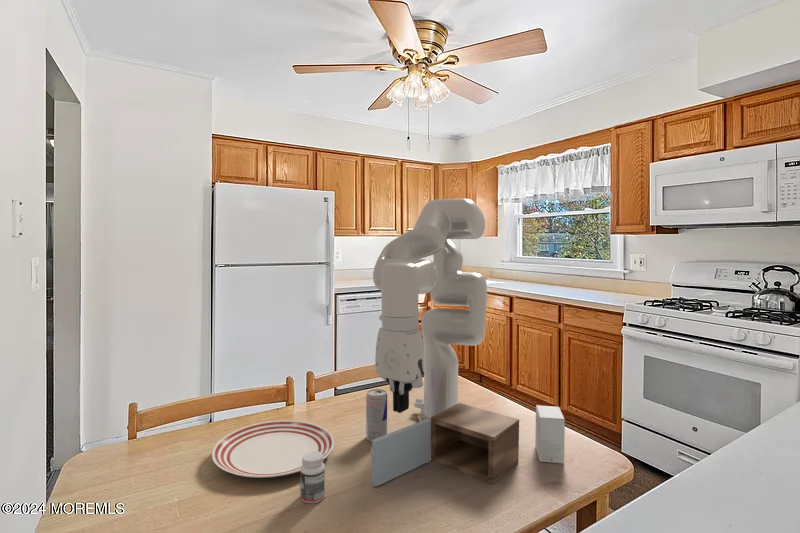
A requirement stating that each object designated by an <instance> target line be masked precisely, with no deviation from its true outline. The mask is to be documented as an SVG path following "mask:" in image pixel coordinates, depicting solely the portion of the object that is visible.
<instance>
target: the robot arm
mask: <svg viewBox="0 0 800 533" xmlns="http://www.w3.org/2000/svg"><path fill="white" fill-rule="evenodd" d="M485 229H486V219H485V215H484V213H483V211H482V210H481V208H480V207H479V206H478V205H477V203H476V202H475V201H473V200H471V199H469V198H445V199H444V198H442V199H441V198H440V199H439V198H437V199H432V200H430V201H428V202H427V203H426V204H424V206H423V208H422V210H421V212H420V214H419V216H418V217H417V220H416V222H415V224H414V226H413V228H412V229H410V230H409V231H407V232H404V233H403V234H401V235H399V236H398V237H396V238H394V239H393V240H391V241H390V242H388V243H387V244H386V245H385V246H384V247H383V249H382V250H381V252H380V254H379V256H378V257H377V260H376V262H375V264H374V267H373V272H372V279H373V284H374V286H375V287H376V289H377V290H379V291H380V292H381V298H380V300H381V314H380V315H379V320H380V321H381V327H380V328H379V329H378V333H377V338H376V345H375V359H374V361H375V362H374V366H375V368H374V369H375V373H376V374H377V375H378V376H379V377H380V378H381V379H383V380H384V381H386V382H387V384H388V385H389V391H391V392H392V410H393V412H395V413H396V412H397V413H398V414H402V413H403V412H405V411H407V410H409V407H410V392H411V391H412V389H419V388H422V387H423V398H420V397H417V398H416V399H415V402H414V404H413V406H414V408H417V409H420V412H419V413H418V417H417V418H418V422H420V421H423V420H425V419H428V420H430V421H431V417H433V416H434V415H436V414H438V413H440V412H442V411H444V410H446V409H448V408H450V407H452V406H454V405H456V404H458V403H459V357H458V354H457V353H456V350H454V348H453V347H452V345H458V346H473V347H474V346H478V345H480V344H482V343H483V340H484V337H485V333H486V332H485V330H486V317H487V301H488V285H487V281H486V278H485V276H484V275H482V274H481V273H478V272H471V271H470V272H469V271H468V272H465V271H463V262H464V257H463V254H462V252H461V251H460V249H459V248H458V247H457V245H455V243H453V241H452V240H477V239H480V238H481V237H483V235H484V232H485ZM430 256H432V257H433V261H431V260H429V259H425V258H427V257H430ZM429 293H430V298H431V301H432V302H433V303H435V304H438V305H444V306H456V307H457V306H458V307H468V309H454V308H432V309H428V310H426V311H425V312H424V313H423V314H422V316H421V318H419V295H426V294H429ZM419 319H421V321H420V323H419ZM419 324H420V328H421V330H420V329H419ZM423 378H424V380H423ZM430 429H431V427H430Z"/></svg>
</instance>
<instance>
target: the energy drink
mask: <svg viewBox="0 0 800 533" xmlns="http://www.w3.org/2000/svg"><path fill="white" fill-rule="evenodd" d="M365 404H366V406H365V409H366V410H365V411H366V412H365V413H366V414H365V415H366V416H365V417H366V418H365V422H366V423H365V425H366V426H365V434H366V435H365V437H366V440H367V441H369V442H370V443H372V440H373V439H376V438H378V437H381V436H384V435H386V434H388V394H387V390H384V389H379V388H375V389H374V388H373V389H369V390H368V391H367V392H366V397H365Z"/></svg>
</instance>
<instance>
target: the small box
mask: <svg viewBox="0 0 800 533" xmlns="http://www.w3.org/2000/svg"><path fill="white" fill-rule="evenodd" d="M565 420H566V419H565V417H564V415H563V412H562V411H561V408H560V407H559V406H549V405H539V404H536V406H535V435H534V436H535V441H534V442H535V450H536V454H537V458H538V462H541V463H553V464H562V465H563V464H565V436H566V435H565V430H566V429H565V426H566V424H565V422H566V421H565Z"/></svg>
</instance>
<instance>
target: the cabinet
mask: <svg viewBox="0 0 800 533" xmlns="http://www.w3.org/2000/svg"><path fill="white" fill-rule="evenodd" d="M519 442H520V418H515V417H512V416H509V415H508V416H507V415H504V414H500V413H497V412H493V411H491V410H487V409H482V408H479V407H476V406H472V405H468V404H465V403H461V402H458V404H456V405H454V406H452V407H450V408H448V409H446V410H444V411H442V412H440V413H438V414H436V415H434V416H433V417H431V428H430V461H433V462H436V463H438V464H440V465H443V466H444V467H445V466H446V467H448V468H451V469H453V470H456V471H458V472H461V473H463V474H466V475H468V476H471V477H473V478H476V479H478V480H480V481H483V482H485V483H488V484H492V485H494V484H496V482H498V481H500V479H501V478H503V476H505V475H506V474H507V473H508V472H509V471H510V470H512V468H514V467H515V466H516V465H517V464H519V458H520V457H519V456H520V454H519V448H520V443H519Z"/></svg>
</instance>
